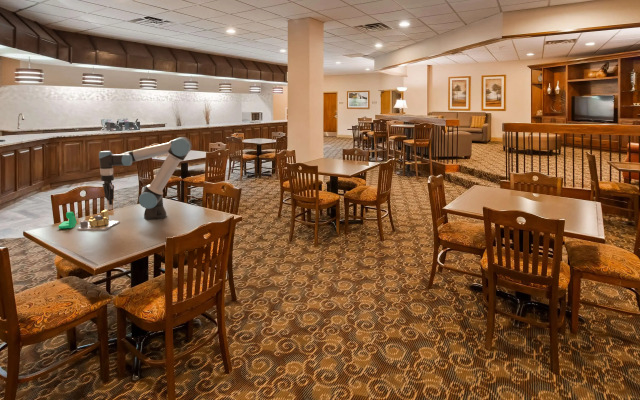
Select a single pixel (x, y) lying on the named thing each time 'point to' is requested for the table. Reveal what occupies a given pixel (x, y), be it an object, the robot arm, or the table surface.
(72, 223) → the camera mount
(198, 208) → the table surface
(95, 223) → the gold lumpy cluster
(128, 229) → the table surface
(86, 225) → the housing
